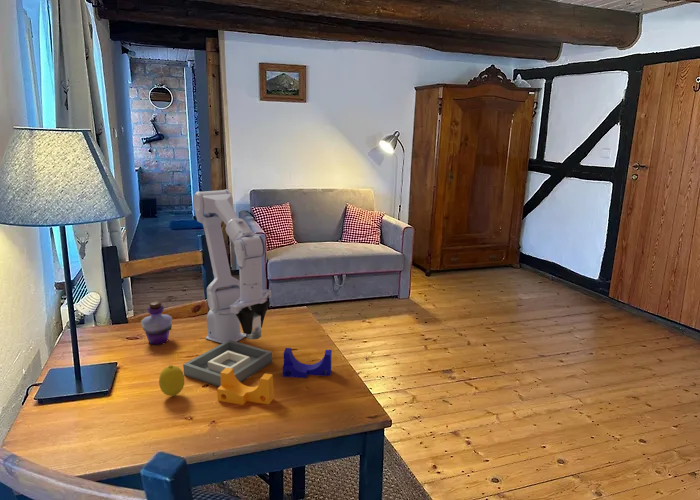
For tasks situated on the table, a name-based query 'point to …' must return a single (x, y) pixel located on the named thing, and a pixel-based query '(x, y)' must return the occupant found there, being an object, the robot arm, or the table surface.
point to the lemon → (171, 380)
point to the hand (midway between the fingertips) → (252, 330)
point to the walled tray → (227, 362)
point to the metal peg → (255, 327)
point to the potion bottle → (157, 324)
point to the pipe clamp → (244, 389)
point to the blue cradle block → (305, 366)
